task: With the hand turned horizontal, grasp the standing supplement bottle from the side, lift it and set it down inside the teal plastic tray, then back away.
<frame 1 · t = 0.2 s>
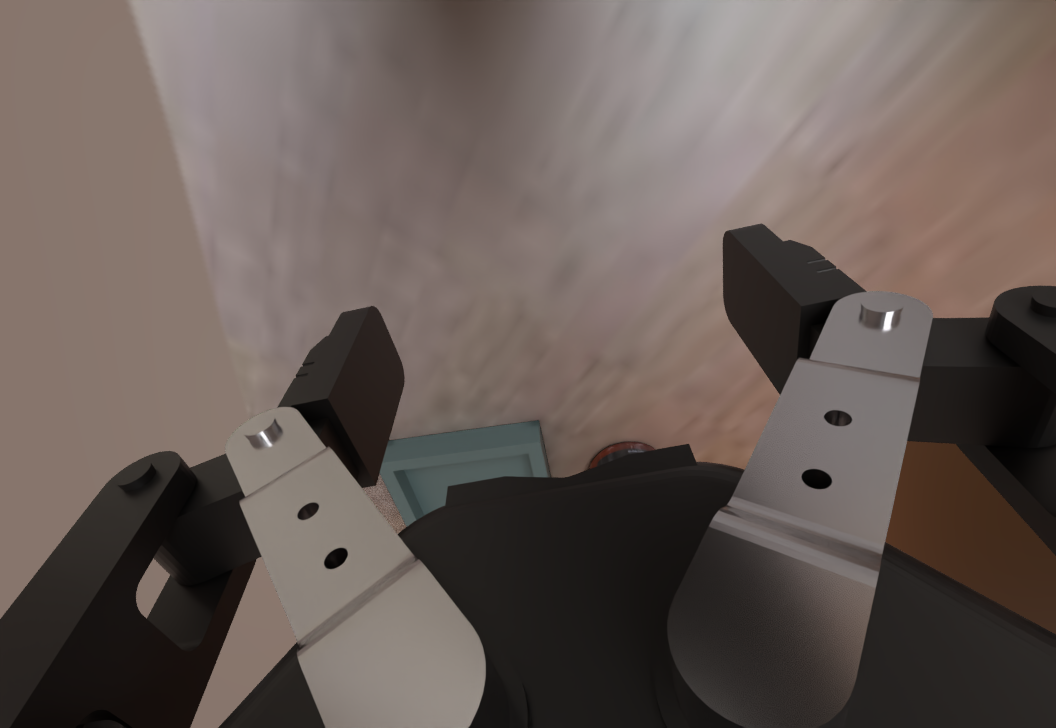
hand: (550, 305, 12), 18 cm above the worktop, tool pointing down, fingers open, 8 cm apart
supplement bottle: (625, 462, 42), on the worktop
tray: (477, 483, 43), on the worktop
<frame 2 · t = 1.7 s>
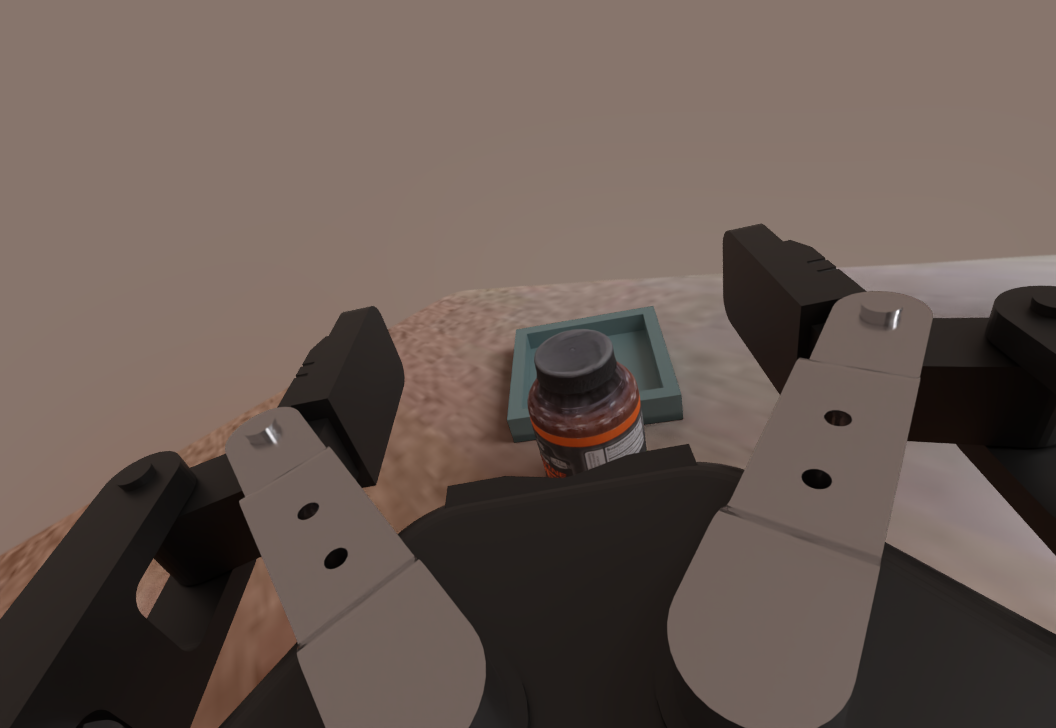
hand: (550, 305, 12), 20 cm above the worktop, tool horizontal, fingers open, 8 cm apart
supplement bottle: (603, 500, 33), on the worktop
tray: (591, 379, 42), on the worktop
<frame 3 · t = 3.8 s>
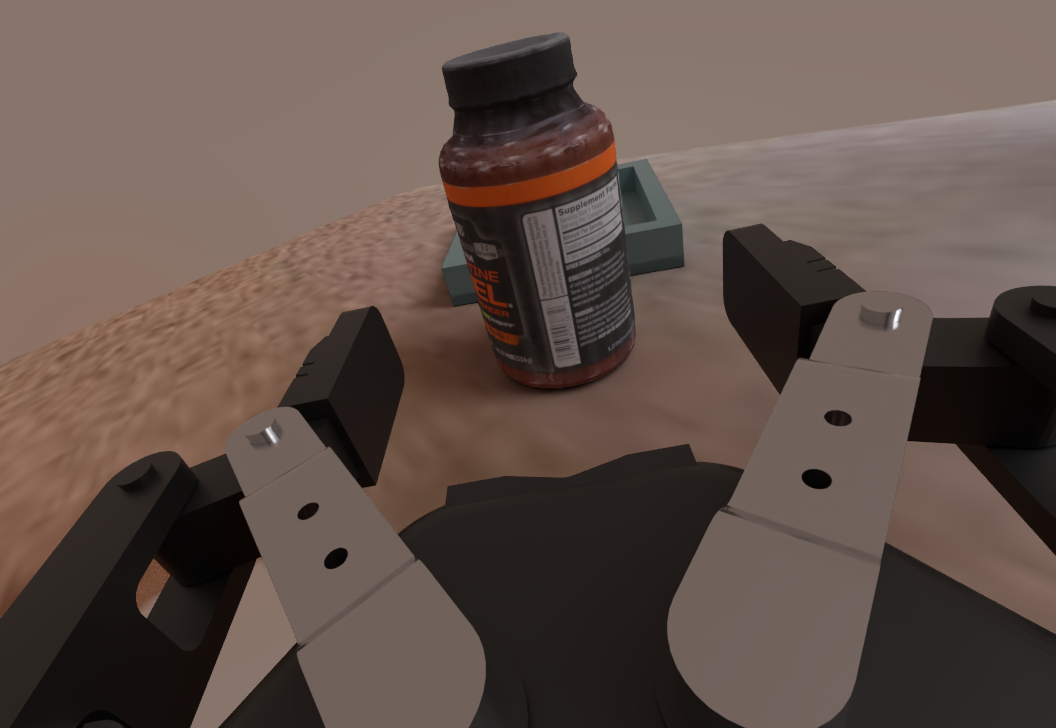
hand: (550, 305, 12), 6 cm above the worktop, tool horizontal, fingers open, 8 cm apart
supplement bottle: (567, 355, 22), on the worktop
tray: (563, 241, 32), on the worktop
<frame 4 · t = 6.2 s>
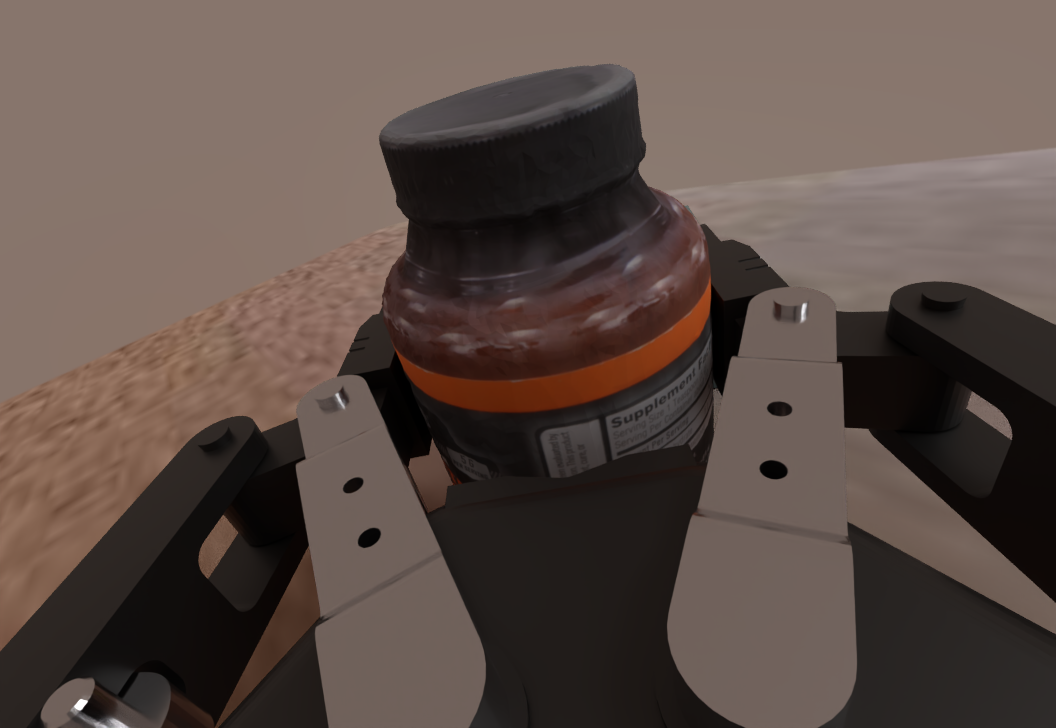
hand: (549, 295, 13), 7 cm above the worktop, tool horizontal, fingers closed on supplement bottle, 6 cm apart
supplement bottle: (601, 551, 14), on the worktop, touching gripper
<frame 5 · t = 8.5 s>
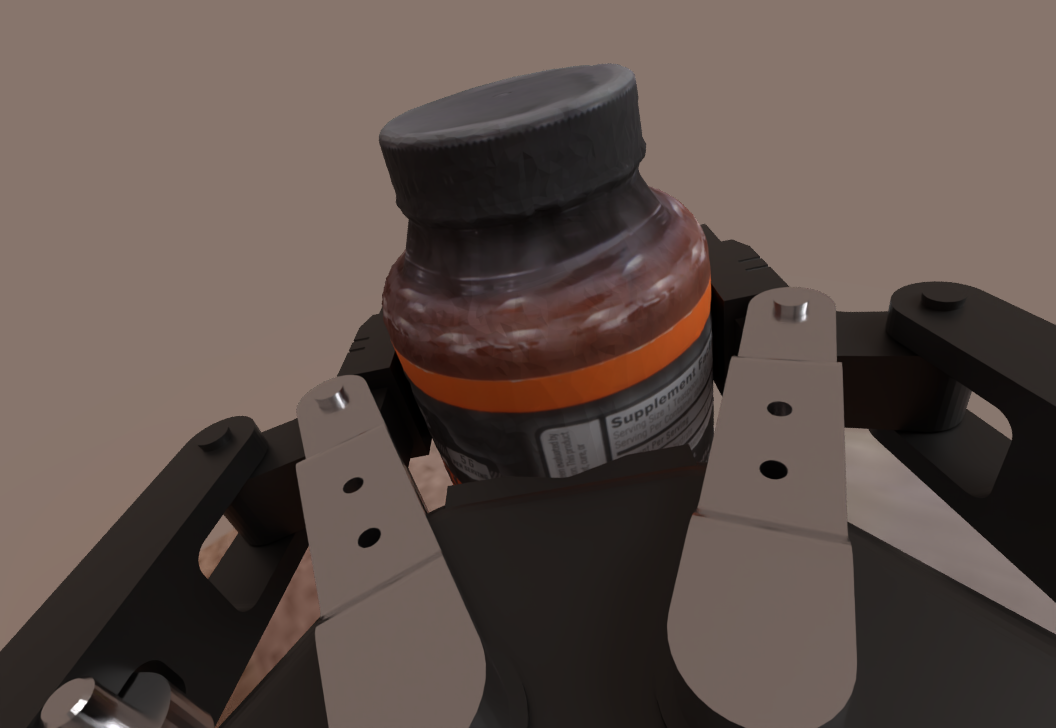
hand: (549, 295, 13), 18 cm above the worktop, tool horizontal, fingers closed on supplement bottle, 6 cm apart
supplement bottle: (601, 551, 14), point 11 cm above the worktop, touching gripper
when the fingers open (8 cm above the worktop, at t = 10.8 s): supplement bottle drops 1 cm, resting on tray.
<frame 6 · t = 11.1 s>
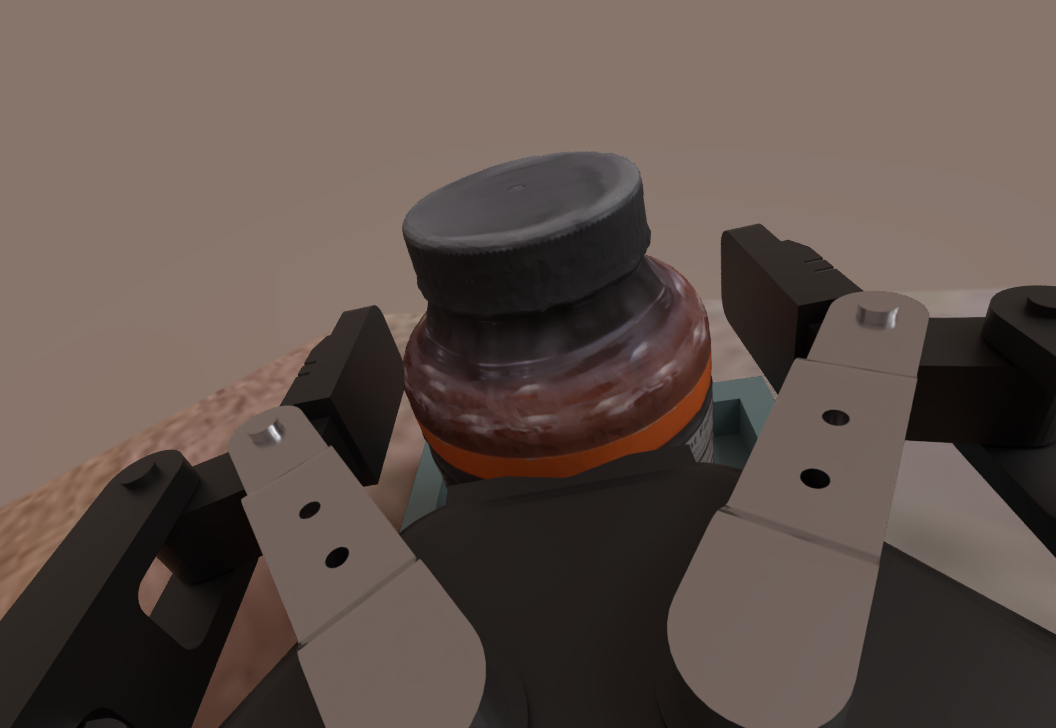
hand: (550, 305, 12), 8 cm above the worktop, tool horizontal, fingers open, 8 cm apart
supplement bottle: (606, 584, 15), resting on tray
tray: (610, 588, 15), on the worktop
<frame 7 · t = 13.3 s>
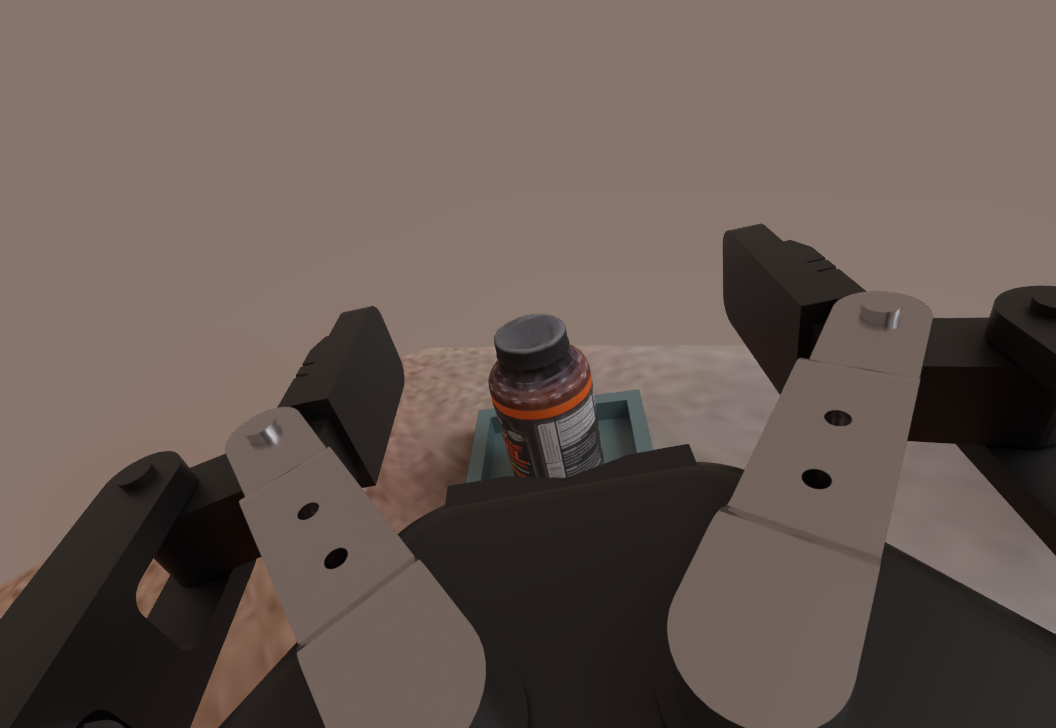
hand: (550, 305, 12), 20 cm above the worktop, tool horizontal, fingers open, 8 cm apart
supplement bottle: (561, 478, 35), resting on tray
tray: (563, 480, 35), on the worktop
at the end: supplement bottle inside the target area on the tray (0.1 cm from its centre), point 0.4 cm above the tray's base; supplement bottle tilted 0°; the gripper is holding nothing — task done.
